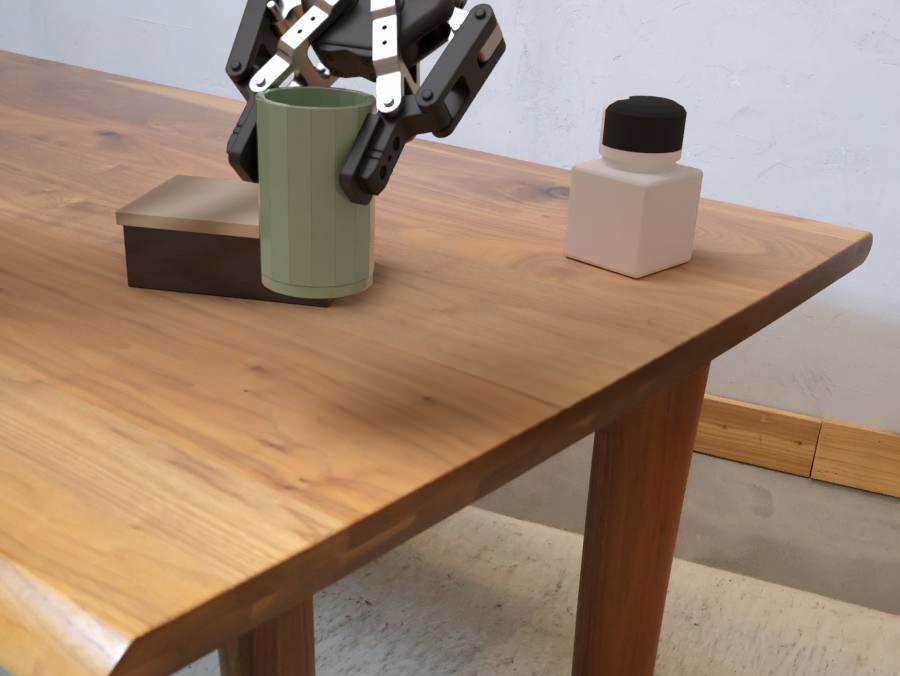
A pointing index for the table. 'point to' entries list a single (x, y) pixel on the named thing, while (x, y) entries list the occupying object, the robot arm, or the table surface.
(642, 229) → the medicine bottle
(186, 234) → the shoebox
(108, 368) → the table surface
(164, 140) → the table surface
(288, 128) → the cup
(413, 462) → the table surface
